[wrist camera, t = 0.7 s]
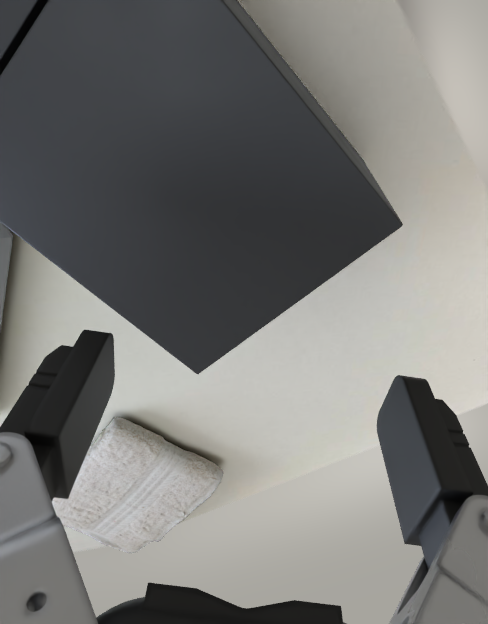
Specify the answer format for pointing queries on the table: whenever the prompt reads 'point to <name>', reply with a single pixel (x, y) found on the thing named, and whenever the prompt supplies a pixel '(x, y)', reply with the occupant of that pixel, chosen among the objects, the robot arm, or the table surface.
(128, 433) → the washcloth
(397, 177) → the table surface
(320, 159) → the cabinet
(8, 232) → the grey zigzag star board
